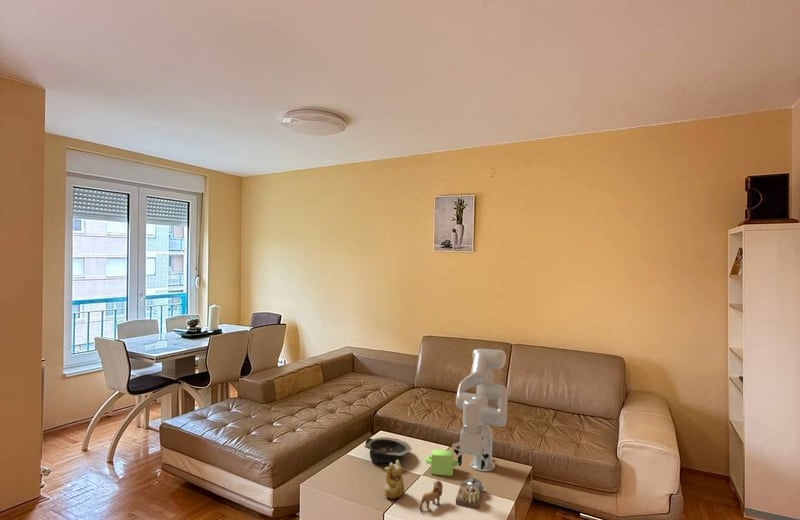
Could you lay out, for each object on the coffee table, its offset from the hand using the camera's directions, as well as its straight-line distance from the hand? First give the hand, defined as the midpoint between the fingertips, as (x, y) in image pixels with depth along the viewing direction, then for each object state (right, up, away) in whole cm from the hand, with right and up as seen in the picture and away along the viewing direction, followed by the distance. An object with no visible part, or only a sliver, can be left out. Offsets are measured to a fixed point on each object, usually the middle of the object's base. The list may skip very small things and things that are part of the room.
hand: (471, 466), depth 186 cm
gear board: (0, -16, +4) cm, 16 cm away
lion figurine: (-18, -16, -3) cm, 24 cm away
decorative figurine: (-34, -16, +4) cm, 37 cm away
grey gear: (+2, -14, +7) cm, 16 cm away
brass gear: (0, -14, 0) cm, 14 cm away
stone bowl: (-38, -16, +40) cm, 57 cm away
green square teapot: (-9, -16, +27) cm, 33 cm away
